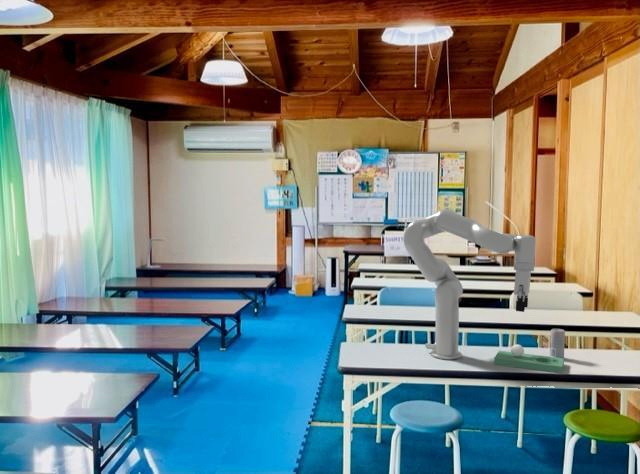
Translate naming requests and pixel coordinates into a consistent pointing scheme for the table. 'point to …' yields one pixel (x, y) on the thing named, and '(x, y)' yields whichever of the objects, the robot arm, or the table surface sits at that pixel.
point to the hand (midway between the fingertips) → (521, 309)
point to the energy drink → (557, 343)
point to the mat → (530, 361)
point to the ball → (517, 350)
